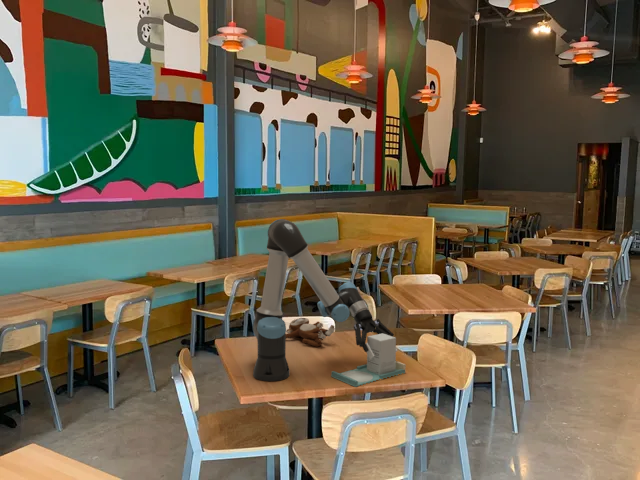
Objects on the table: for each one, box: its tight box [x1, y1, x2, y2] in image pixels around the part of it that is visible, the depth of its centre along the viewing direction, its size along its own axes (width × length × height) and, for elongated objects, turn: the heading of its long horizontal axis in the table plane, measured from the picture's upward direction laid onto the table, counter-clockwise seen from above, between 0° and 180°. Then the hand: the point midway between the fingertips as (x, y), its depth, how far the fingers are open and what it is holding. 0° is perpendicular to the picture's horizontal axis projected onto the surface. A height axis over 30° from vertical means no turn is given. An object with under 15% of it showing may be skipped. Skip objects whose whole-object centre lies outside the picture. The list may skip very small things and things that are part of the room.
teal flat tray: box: [330, 361, 407, 388], centre depth 240 cm, size 28×15×4 cm, turn 128°
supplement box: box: [366, 333, 397, 375], centre depth 243 cm, size 9×9×15 cm
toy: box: [286, 317, 336, 348], centre depth 290 cm, size 22×10×30 cm
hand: (384, 354), depth 242 cm, fingers open, 13 cm apart
